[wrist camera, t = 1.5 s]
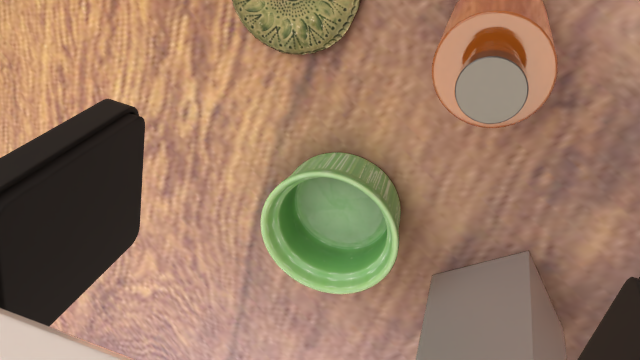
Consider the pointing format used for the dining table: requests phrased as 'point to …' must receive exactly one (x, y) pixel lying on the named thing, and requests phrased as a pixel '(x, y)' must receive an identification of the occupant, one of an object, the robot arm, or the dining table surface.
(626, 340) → the robot arm
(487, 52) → the amber bottle
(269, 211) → the ramekin
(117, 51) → the dining table surface
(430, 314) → the perfume bottle
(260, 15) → the medallion
